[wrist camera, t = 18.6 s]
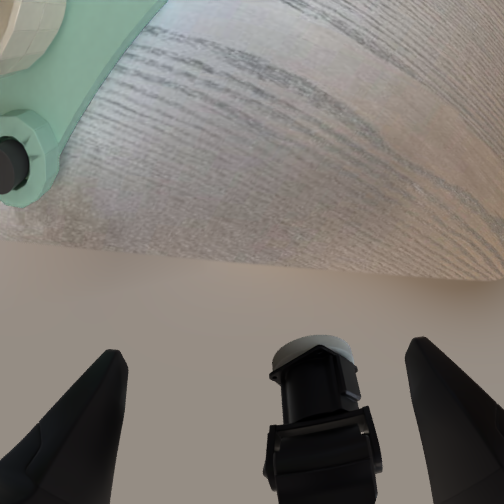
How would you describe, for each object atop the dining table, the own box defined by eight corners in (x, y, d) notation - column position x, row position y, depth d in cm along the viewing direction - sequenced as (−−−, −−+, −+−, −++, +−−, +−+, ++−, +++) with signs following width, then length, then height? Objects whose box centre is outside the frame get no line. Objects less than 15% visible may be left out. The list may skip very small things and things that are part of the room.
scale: (50, 201, 18) (28, 223, 16) (-53, 112, 13) (-79, 125, 11) (181, 6, 12) (168, -2, 10) (39, -70, 7) (12, -78, 5)
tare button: (21, 191, 15) (7, 203, 14) (-8, 167, 14) (-23, 177, 13) (35, 155, 14) (20, 166, 13) (4, 130, 13) (-12, 138, 12)
